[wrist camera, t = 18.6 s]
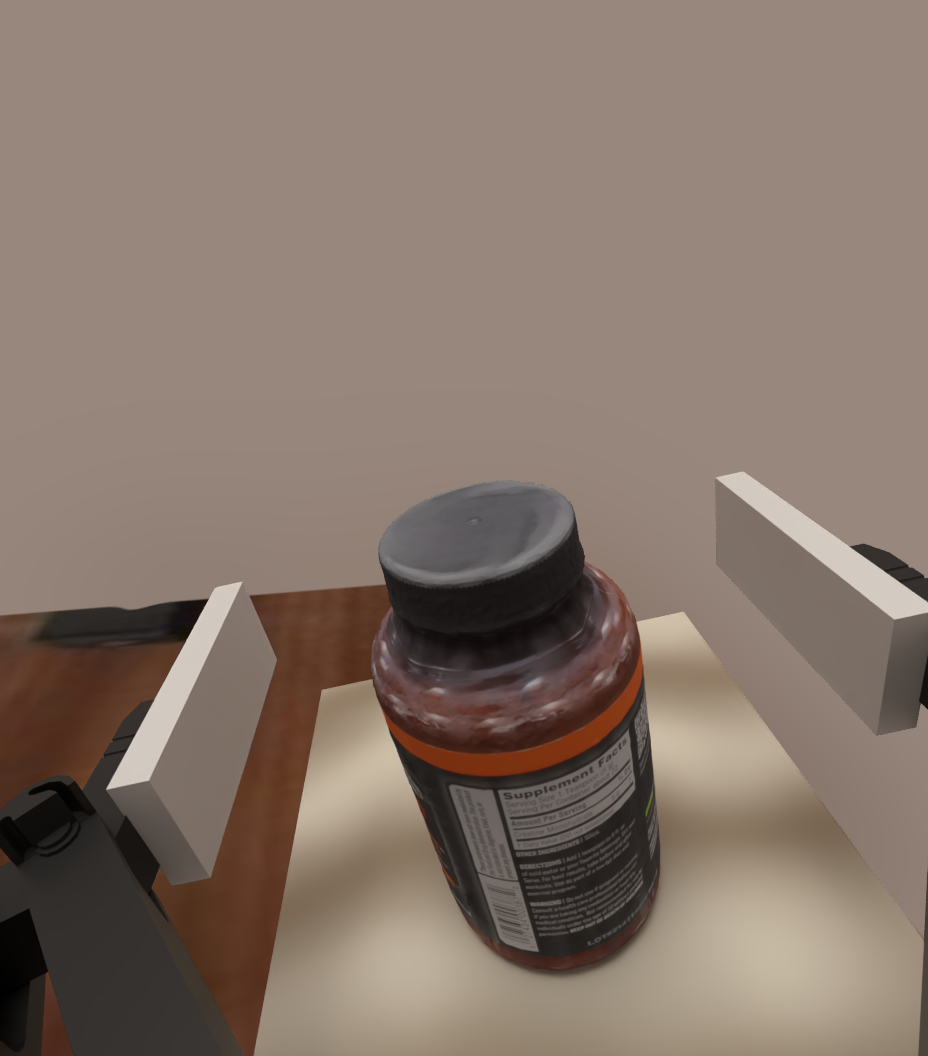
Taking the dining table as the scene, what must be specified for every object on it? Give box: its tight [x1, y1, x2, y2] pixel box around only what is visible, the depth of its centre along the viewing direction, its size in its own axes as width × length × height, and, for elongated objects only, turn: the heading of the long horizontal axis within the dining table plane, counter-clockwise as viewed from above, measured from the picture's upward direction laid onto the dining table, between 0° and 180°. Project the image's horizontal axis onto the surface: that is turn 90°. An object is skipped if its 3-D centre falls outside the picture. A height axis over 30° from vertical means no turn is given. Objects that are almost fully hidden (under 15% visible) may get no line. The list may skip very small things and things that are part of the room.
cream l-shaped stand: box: [254, 612, 924, 1056], centre depth 21 cm, size 19×16×18 cm
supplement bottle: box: [371, 480, 661, 970], centre depth 15 cm, size 6×6×11 cm
